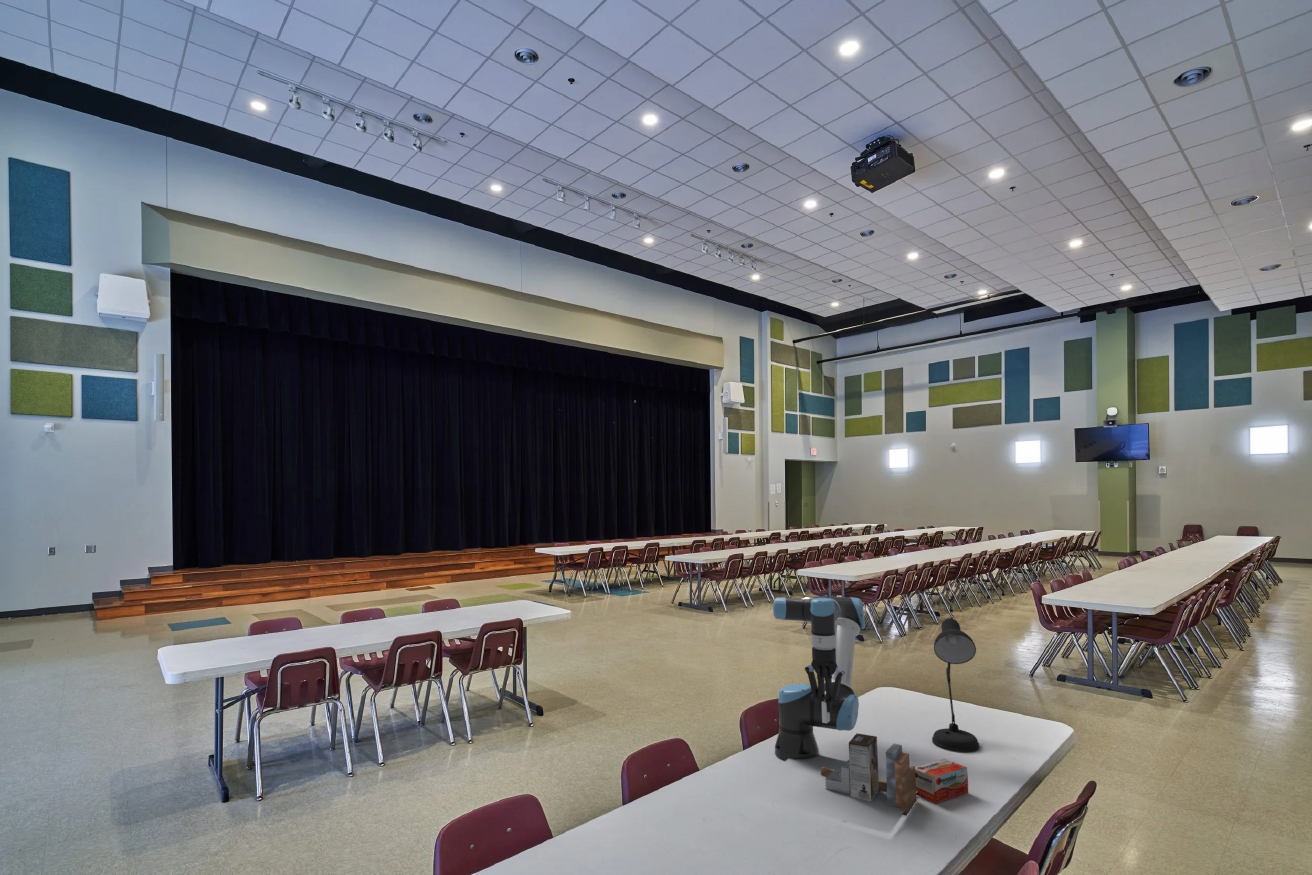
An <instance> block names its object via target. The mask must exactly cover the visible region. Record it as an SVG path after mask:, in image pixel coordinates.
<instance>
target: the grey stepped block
mask: <svg viewBox="0 0 1312 875" xmlns="http://www.w3.org/2000/svg"><path fill="white" fill-rule="evenodd" d="M824 780H825V789H826V790H828V791H829V790H830V791H833V792H836V793H840V794H841V793H842V794H844V795H848V796H851V791H850V763H849V759H847V760H846V761H845V763H843V764H842V765H841V767H840V770H839V771H838V769H834V771H833V772H832V773H831V774H830V775H829V776H826V778H825V779H824Z"/></svg>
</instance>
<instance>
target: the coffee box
mask: <svg viewBox="0 0 1312 875" xmlns="http://www.w3.org/2000/svg"><path fill="white" fill-rule="evenodd" d="M848 753H849V754H848V756H849V759H848V760H849V763H850V791H851V794H850V797H851V798H855V799H859V800H864V801H869V802H873V800H874V799H875V797H876V796H877V794H878V792H879V791H880V789H879V780H880V778H879V760H878V759H879V755H878V737H877V736H876V735H869V734H865V733H864V734H863V733H855V735H854V736H853V737H852V738H851V740H849V742H848Z"/></svg>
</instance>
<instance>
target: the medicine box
mask: <svg viewBox="0 0 1312 875" xmlns="http://www.w3.org/2000/svg"><path fill="white" fill-rule="evenodd" d="M967 768H968V767H967V766H964V765H962V764H959V763H956V762H954V761H952V760H949V759H947V758H942V759H939V760H935V761H933V762H929V763H925V764H922V765H918V766H915V778H916V796H917V797H920V798H922V799H924V800H927V801H929V802H931V803H933V804H935V805H937V804H939V803H943V802H946V801H950V800H952V799H955V798H958V797H962V796H964V795H967V794H968V793H969V776H968V775H969V774H968V769H967Z"/></svg>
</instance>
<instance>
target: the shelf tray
mask: <svg viewBox="0 0 1312 875" xmlns="http://www.w3.org/2000/svg"><path fill="white" fill-rule="evenodd" d="M885 767H886V768H885V770H886V772H885V773H886V781H885V780H880V779H879V790H881V791H886V798H887V805H888V806H891V807H893V808H894V807H895V808H898V809H902V811H903V812H902V814H901V815H902V816H905V817H907V816H908V815H909V813H910V811H911V809H912V808H913V807H914V805H915V804H916V802H917V795H916V793H917V791H916V778H915V767H916V766H915V765H911V766H910V753H909V752H903V745H902V744H899V743H892V744H891V746H889V748H888V749H887V750H886V751H885ZM834 770H835V769H834V768H830V767H826V766H821V767H820V775H821V776H824V777H828V776H829V775H830V774H831V773H832V772H833V771H834ZM837 770H838V769H837ZM838 771H840V770H838Z"/></svg>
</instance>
